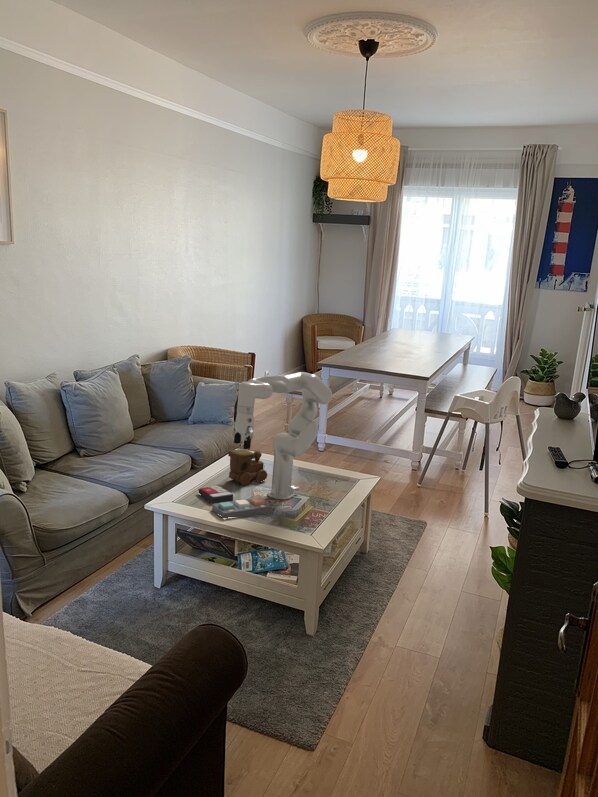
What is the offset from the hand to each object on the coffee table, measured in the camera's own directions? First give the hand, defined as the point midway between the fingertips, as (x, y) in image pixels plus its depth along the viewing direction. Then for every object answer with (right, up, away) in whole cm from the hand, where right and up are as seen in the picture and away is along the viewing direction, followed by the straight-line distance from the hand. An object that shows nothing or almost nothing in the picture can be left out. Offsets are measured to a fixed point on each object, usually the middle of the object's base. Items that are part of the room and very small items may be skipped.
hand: (241, 446), depth 282 cm
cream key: (0, -28, -2) cm, 28 cm away
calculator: (-14, -26, +13) cm, 32 cm away
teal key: (-6, -28, -6) cm, 29 cm away
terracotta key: (+7, -27, +3) cm, 28 cm away
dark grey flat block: (0, -30, -1) cm, 30 cm away
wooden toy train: (-1, -22, +41) cm, 46 cm away
